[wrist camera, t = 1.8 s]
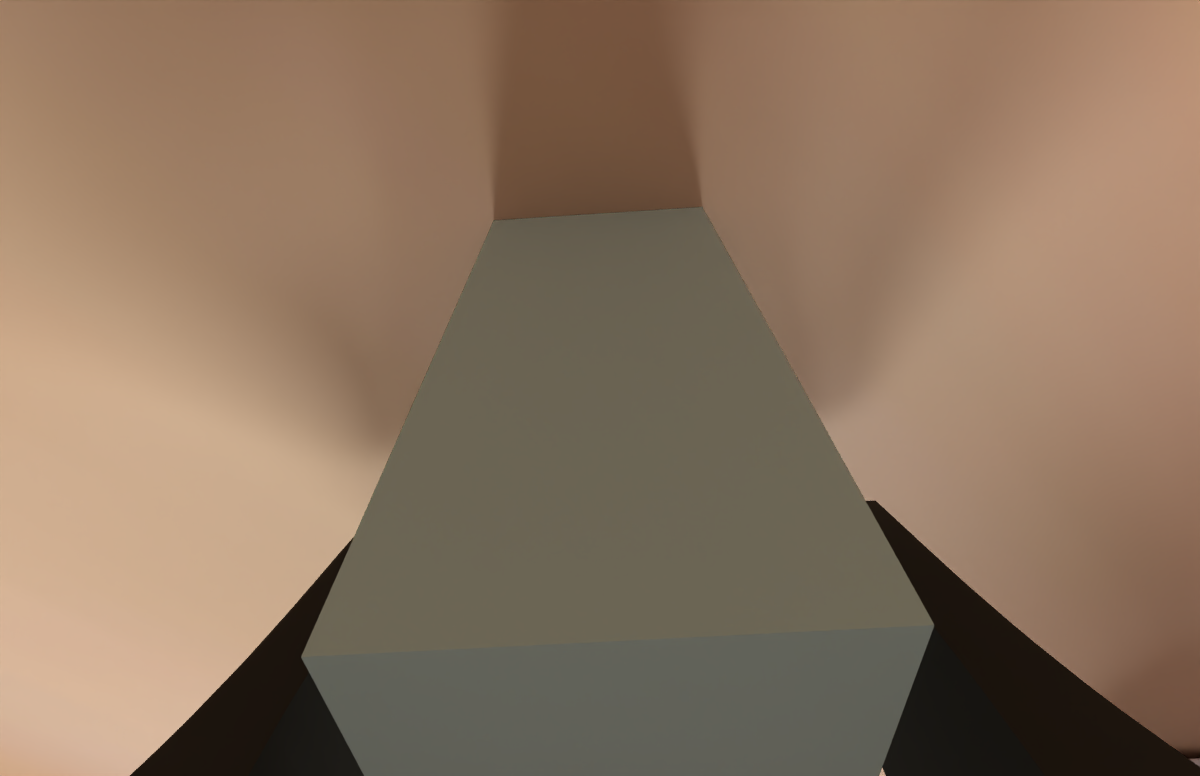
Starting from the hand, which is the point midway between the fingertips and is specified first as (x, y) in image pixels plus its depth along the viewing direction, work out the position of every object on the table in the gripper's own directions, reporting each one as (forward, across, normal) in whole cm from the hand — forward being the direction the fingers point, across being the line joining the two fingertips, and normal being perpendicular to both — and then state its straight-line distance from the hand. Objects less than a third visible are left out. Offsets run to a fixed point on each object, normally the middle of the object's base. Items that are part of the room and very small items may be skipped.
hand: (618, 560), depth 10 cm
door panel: (+2, 0, 0) cm, 2 cm away
